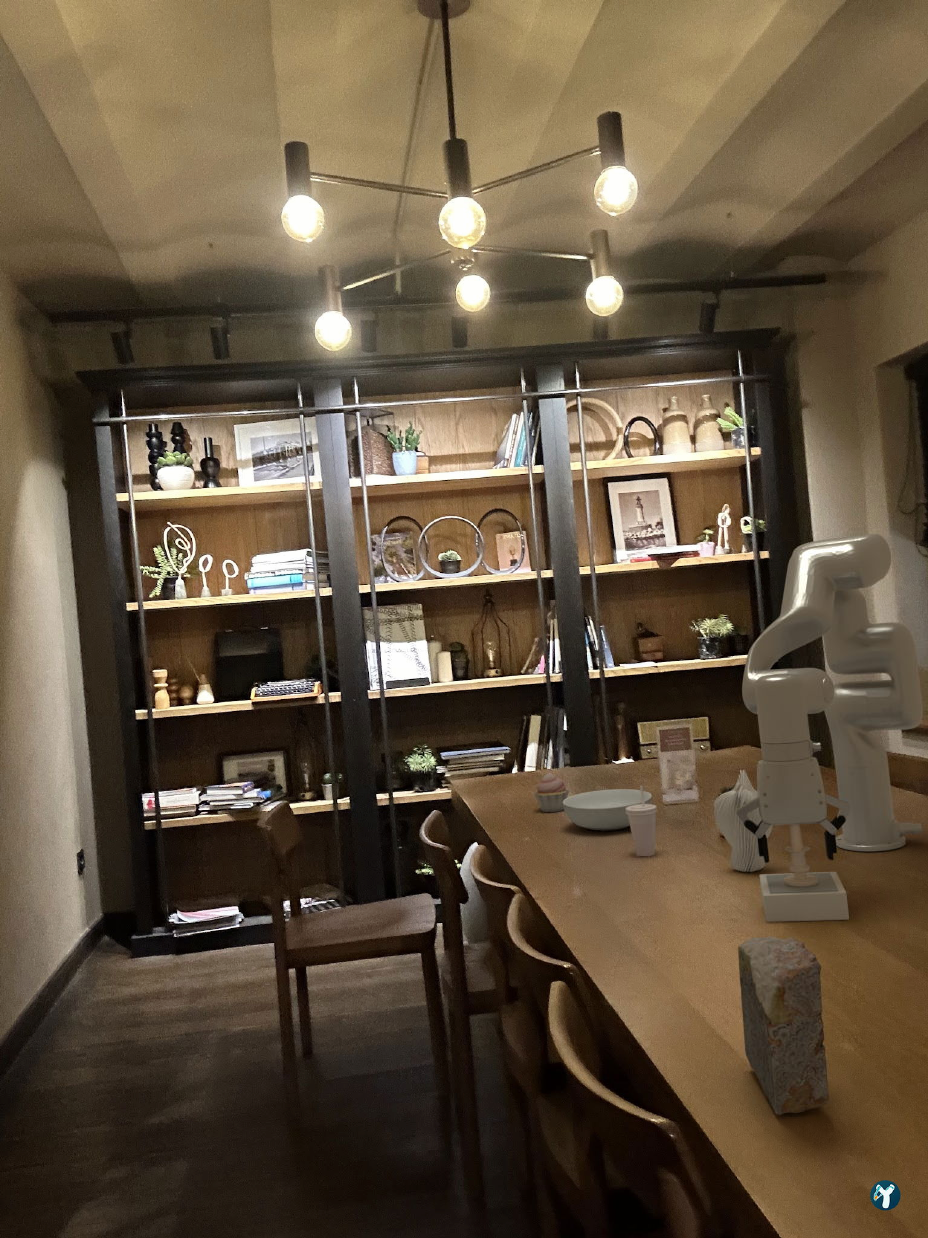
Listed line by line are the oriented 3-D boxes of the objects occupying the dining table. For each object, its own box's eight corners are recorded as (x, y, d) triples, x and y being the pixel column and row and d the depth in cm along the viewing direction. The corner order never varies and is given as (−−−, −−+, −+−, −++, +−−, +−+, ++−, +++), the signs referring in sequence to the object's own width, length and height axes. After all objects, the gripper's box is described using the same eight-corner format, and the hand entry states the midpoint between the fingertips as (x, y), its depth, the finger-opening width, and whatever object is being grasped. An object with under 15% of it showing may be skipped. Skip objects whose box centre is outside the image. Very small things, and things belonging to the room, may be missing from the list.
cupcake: (577, 806, 254) (573, 769, 255) (561, 814, 247) (557, 775, 247) (546, 806, 259) (542, 769, 260) (529, 813, 252) (525, 775, 252)
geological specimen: (744, 1069, 102) (729, 928, 103) (802, 1063, 102) (787, 922, 102) (773, 1120, 92) (756, 963, 92) (838, 1115, 92) (821, 957, 92)
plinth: (838, 896, 157) (835, 870, 157) (849, 919, 145) (846, 892, 145) (761, 898, 160) (759, 873, 160) (766, 921, 148) (763, 895, 148)
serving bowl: (554, 838, 221) (551, 808, 221) (578, 818, 240) (575, 790, 240) (645, 836, 213) (641, 805, 213) (662, 816, 232) (659, 787, 232)
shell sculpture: (750, 878, 172) (739, 778, 172) (718, 870, 179) (707, 774, 180) (783, 869, 176) (773, 771, 176) (751, 861, 183) (741, 767, 183)
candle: (814, 887, 149) (807, 820, 149) (780, 886, 152) (773, 820, 152) (821, 878, 154) (814, 813, 154) (788, 877, 156) (781, 813, 156)
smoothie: (661, 857, 193) (654, 788, 193) (629, 859, 194) (622, 790, 195) (661, 849, 199) (654, 782, 200) (630, 851, 201) (623, 784, 201)
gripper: (840, 744, 154) (852, 851, 154) (729, 752, 159) (740, 856, 158) (847, 751, 147) (859, 863, 147) (730, 759, 151) (742, 868, 151)
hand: (798, 859), depth 153 cm, fingers open, 9 cm apart
